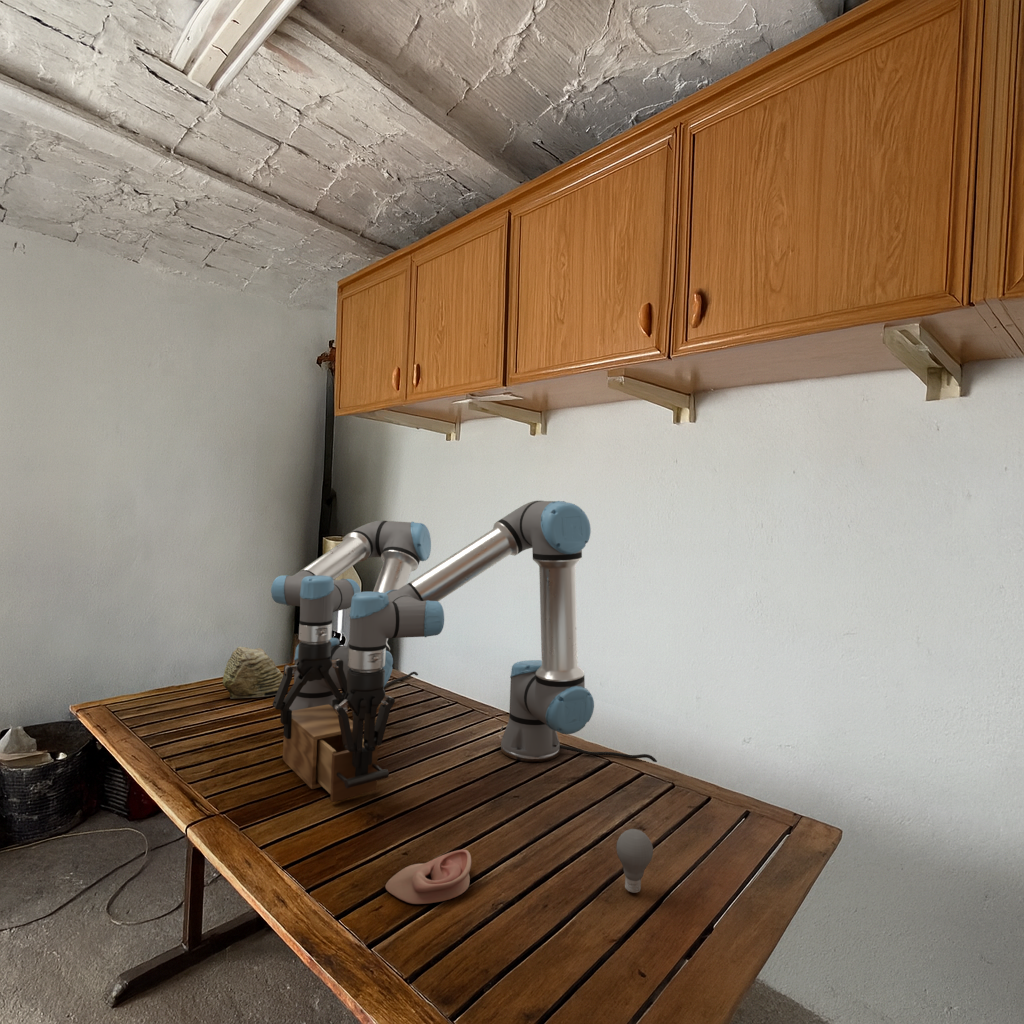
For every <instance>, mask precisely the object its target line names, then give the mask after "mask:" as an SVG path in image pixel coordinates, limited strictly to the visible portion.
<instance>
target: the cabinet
mask: <svg viewBox="0 0 1024 1024" xmlns="http://www.w3.org/2000/svg"><path fill="white" fill-rule="evenodd" d="M349 723H350V729H351V732H352V731H353V719H351V718H349ZM336 735H341V730H340V725H339V720H338V715H337V713H336V712H335V711H334V709H333V707H332V706H330V705H329V704H328V705H322V706H316V707H311V708H305V709H299V710H294V711H292V722H291V739H287V738H286V737H285V736H284V735H283V740H282V742H283V743H282V745H283V746H282V761H283V762H284V763H285V764H286V765H287V766H288V767H289V768H290V769H291V770H292V771H293V772H294V773H295V775H297V776H298V777H299V778H300V779H301V780H302V781H303V782H304V783H305V784H306V785H307V786H308V787H309V788H310V789H311V790H314V789H318V788H321V787H322V786H321V785H320V784H319V783H318V782H317V781H316V757H317V739H322V738H327V737H332V736H336ZM322 788H323V787H322Z"/></svg>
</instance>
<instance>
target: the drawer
mask: <svg viewBox="0 0 1024 1024" xmlns="http://www.w3.org/2000/svg"><path fill="white" fill-rule="evenodd" d="M351 734H352V732H351ZM363 742H364V738H363ZM362 747H364V745H363V744H362ZM378 753H379V746H378V745H377V746H375V751H373V752H372V763H371V765H368V774H364V775H360V776H357V777H355V771H356V768H355V767H354V766H353V765H352V754H353V752H349V751H348V750H347V749H346V748H345V747H344V745H343V740H342V735H336V736H332V737H327V738H322V739H317V757H316V781H317V782H318V783H319V784H320V785H321V786H322V788H323V789H324V790H325V791H326V792H327V793H328V794H329V795H330V799H329V800H330V801H331V802H332V803H336V802H339V801H343V800H346V799H350V798H354V797H357V796H360V795H363V794H368V793H370V792H374V791H377V781H380V780H384V779H388V778H389V775H390V773H389V770H388V768H384V769H383V768H382V767H380V766H379V765H378V756H379V755H378Z"/></svg>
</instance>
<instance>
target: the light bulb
mask: <svg viewBox="0 0 1024 1024" xmlns="http://www.w3.org/2000/svg"><path fill="white" fill-rule="evenodd" d="M615 849H616V854H617V857H618V859H619V861H620V863H621V865H622V867H623V873H624V874H623V875H624V876H625V878H624V888H625V890H627V891H628V892H630V893H634V894H635V893H639V892H640V891H641V889H642V887H641V886H642V879H643V877H644V875H645V871H646V868H647V867H648V866H649V864H650V863H651V861H652V859H653V855H654V847H653V843H652V841H651V838H649V836H648V835H647V834H646V833H645V832H643V831H642V830H641V829H636V828H629V829H627V830H625V831H623V832H622V833H621V834H620V835H619V837H618V839H617V841H616V847H615Z"/></svg>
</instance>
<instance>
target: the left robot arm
mask: <svg viewBox="0 0 1024 1024" xmlns="http://www.w3.org/2000/svg"><path fill="white" fill-rule="evenodd" d="M431 551H432V540H431V533H430V531H429V528H428V526H427V525H425V524H424V523H422V522H415V521H409V522H408V521H394V520H376V521H371V522H368V523H365V524H363V525H361V526H358V527H357V528H355V529H353V530H351V531H350V532H348V533H347V534H345V536H344V537H343V539H342V541H341V542H340V543H338V544H336V545H335V546H334V547H333V548H331V549H329V550H328V551H327V552H325V553H323V554H322V555H321V556H319V557H318V558H316V559H314V561H312V562H311V563H309V564H307V566H305V567H303V568H302V569H300V570H299V571H298V572H296V573H294V574H293V575H289V574H285V575H279V576H277V577H276V578H275V579H274V580H273V582H272V583H271V588H270V593H271V599H272V600H273V601H274V602H275V603H276V604H278V605H279V604H280V605H284V606H285V605H286V606H292V607H293V606H294V607H299V624H298V625H299V626H298V640H299V643H298V644H297V645H296V647H295V652H294V653H295V654H294V659H293V660H294V665H288V664H285V665H284V666H283V674H282V675H283V678H282V680H281V683H280V686H279V688H278V691H277V694H276V695H274V696H275V697H274V699H273V702H272V707H273V708H275V710H277V711H278V710H280V716H279V721H280V723H281V725H282V726H283V737H284V736H285V737H286V738H287V739H291V722H292V711H294V710H299V709H305V708H311V707H316V706H322V705H328V704H329V705H330V706H332V707H333V706H334V705H335V704H338V705H339V704H340V703H341V702H342V701H344V700H345V699H344V698H345V695H346V693H347V672H348V669H349V667H348V651H349V641H347V644H346V645H340V644H341V643H340V642H341V641H340V639H339V638H337V637H333V613H336V612H339V611H343V610H347V609H351V601H352V597H353V596H354V594H356V593H359V592H362V591H361V587H360V585H359V584H358V582H357V581H356V580H354V579H352V578H341V579H338V578H340V576H342V575H343V574H344V573H345V572H346V571H348V570H349V569H350V568H352V567H353V566H354V565H356V564H357V563H361V562H364V561H366V560H367V559H371V558H380V559H381V561H382V562H383V564H382V567H381V569H380V572H379V573H378V577H377V579H376V582H375V584H374V585H375V586H374V588H373V591H372V592H382V593H385V592H387V591H389V590H396V589H397V590H398V589H400V588H401V587H403V586H404V585H406V584H408V583H409V582H408V581H409V578H410V575H411V573H412V572H414V571H416V570H417V569H418V567H419V565H420V562H426V561H427V560H428V559H429V558H430V555H431ZM388 641H389V638H387V640H386V656H385V666H384V667H383V668H384V670H385V680H384V686H383V688H384V689H385V688H387V687H389V686H391V685H392V684H394V683H397V682H400V681H402V680H405V679H409V678H410V677H411V676H413V675H415V676H419V673H418V672H416V671H412V672H411V671H410V673H408V674H406V675H404V676H401V677H398V678H396V679H393V680H390V678H391V675H392V672H393V668H394V667H393V664H394V658H393V655H392V653H391V652H390V651H391V647H390V645H389V644H388ZM292 680H293V684H292V686H291V683H292ZM389 680H390V681H389ZM290 686H291V687H290ZM289 688H290V689H289ZM340 690H341V691H340ZM347 708H350V707H349V706H348V707H347Z"/></svg>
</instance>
